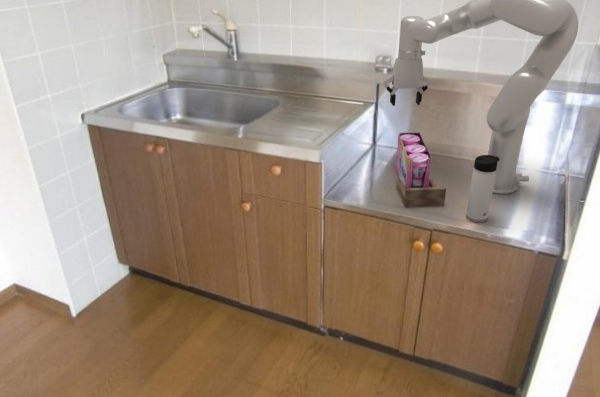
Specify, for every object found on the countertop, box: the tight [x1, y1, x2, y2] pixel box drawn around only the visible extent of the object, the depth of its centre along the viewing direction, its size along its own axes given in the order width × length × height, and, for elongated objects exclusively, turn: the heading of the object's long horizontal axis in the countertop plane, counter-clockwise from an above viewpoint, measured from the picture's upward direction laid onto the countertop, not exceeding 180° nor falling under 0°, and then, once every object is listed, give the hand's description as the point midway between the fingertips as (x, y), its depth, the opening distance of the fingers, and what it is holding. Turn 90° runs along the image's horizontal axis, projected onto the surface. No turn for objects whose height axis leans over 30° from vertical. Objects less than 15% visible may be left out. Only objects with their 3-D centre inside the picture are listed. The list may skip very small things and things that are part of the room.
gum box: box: [395, 132, 432, 189], centre depth 169 cm, size 24×8×14 cm, turn 178°
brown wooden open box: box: [395, 178, 447, 208], centre depth 162 cm, size 12×14×6 cm
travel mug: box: [465, 154, 500, 224], centre depth 145 cm, size 6×7×20 cm
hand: (405, 104), depth 177 cm, fingers open, 8 cm apart
